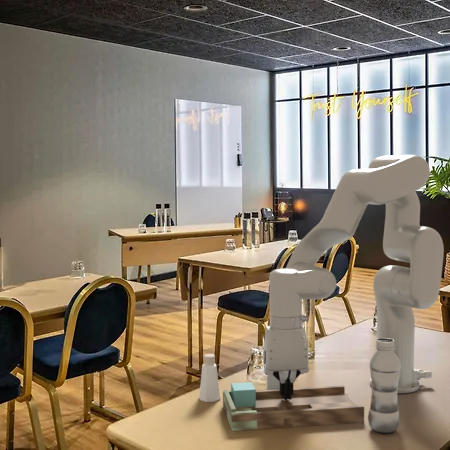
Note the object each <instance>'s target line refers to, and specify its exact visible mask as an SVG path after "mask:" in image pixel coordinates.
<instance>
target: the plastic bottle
mask: <svg viewBox="0 0 450 450" xmlns="http://www.w3.org/2000/svg"><path fill="white" fill-rule="evenodd" d="M375 343H376V345H375V349H377V351H376V350H375V351H376V352H374V354H373V355H372V357H371V358H370V360H369V372H370V378H371V385H370V386H371V396H370V406H369V410H368V415H367V420H368V425H369V427H370V428H371V430H372V431H375V432H378V433H383V434H390V433H394V432H396V431H397V430H398V428H399V427H400V411H399V405H398V403H399V402H398V393H397V392H398V391H397V389H398V381H399V375H400V370H401V364H400V360H399V359H398V357H397V356H396V354H395V353H394V352H393V350H394V349H395V346H394V340H393V339H389V338H378V339H377V338H376V341H375Z"/></svg>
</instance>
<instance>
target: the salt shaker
mask: <svg viewBox="0 0 450 450" xmlns="http://www.w3.org/2000/svg"><path fill="white" fill-rule="evenodd" d="M215 358H216V356H215V354H213V353H206V354H204V355H203V364H202V366H201V375H200V376H201V377H200V384H199V385H200V386H199V387H200V389H199V396H198V397H199V401H202V402H205V403H215V402H217V401H220V399H221V396H220V388H219V387H220V383H219V377H218V369H217V364H216V362H215V361H216V360H215Z"/></svg>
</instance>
